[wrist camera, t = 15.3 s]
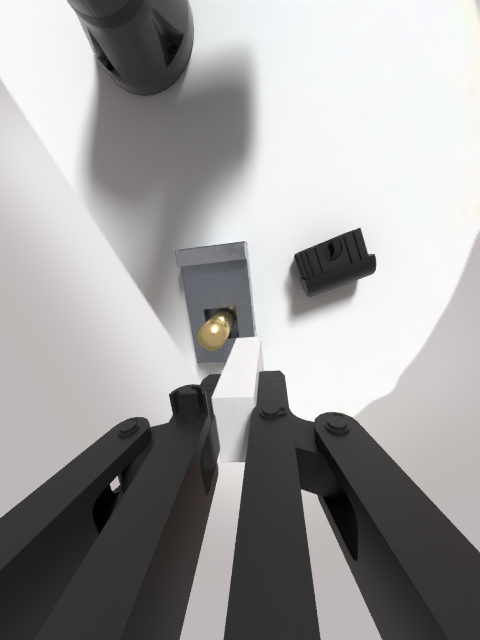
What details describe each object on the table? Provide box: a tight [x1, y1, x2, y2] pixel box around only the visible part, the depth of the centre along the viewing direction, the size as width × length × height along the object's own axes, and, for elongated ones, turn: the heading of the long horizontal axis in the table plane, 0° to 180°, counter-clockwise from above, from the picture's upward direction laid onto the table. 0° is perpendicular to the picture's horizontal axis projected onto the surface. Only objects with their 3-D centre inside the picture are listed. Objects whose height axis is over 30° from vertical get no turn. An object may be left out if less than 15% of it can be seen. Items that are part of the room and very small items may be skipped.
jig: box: [175, 241, 256, 363], centre depth 41 cm, size 20×11×5 cm, turn 7°
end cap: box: [294, 228, 376, 297], centre depth 36 cm, size 10×7×7 cm
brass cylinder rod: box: [197, 310, 235, 351], centre depth 38 cm, size 4×4×10 cm
